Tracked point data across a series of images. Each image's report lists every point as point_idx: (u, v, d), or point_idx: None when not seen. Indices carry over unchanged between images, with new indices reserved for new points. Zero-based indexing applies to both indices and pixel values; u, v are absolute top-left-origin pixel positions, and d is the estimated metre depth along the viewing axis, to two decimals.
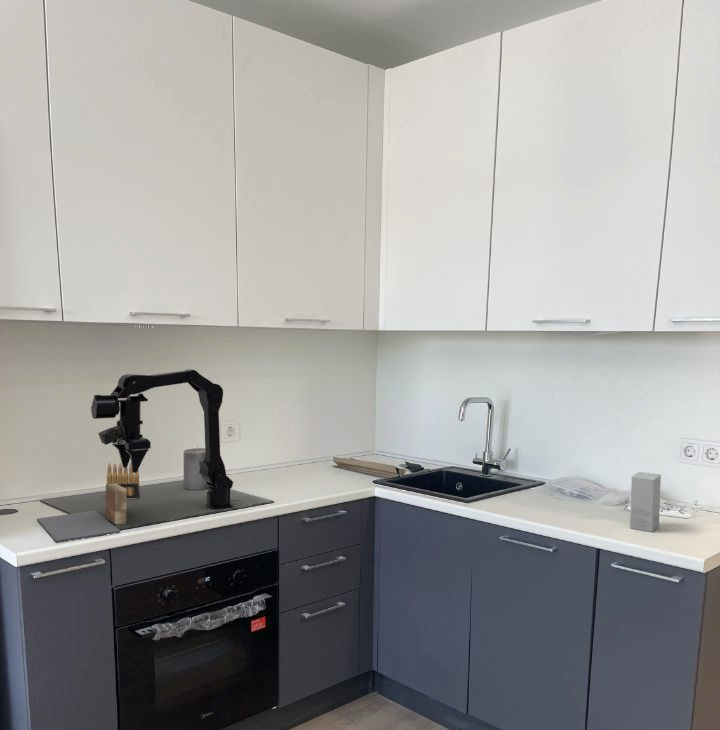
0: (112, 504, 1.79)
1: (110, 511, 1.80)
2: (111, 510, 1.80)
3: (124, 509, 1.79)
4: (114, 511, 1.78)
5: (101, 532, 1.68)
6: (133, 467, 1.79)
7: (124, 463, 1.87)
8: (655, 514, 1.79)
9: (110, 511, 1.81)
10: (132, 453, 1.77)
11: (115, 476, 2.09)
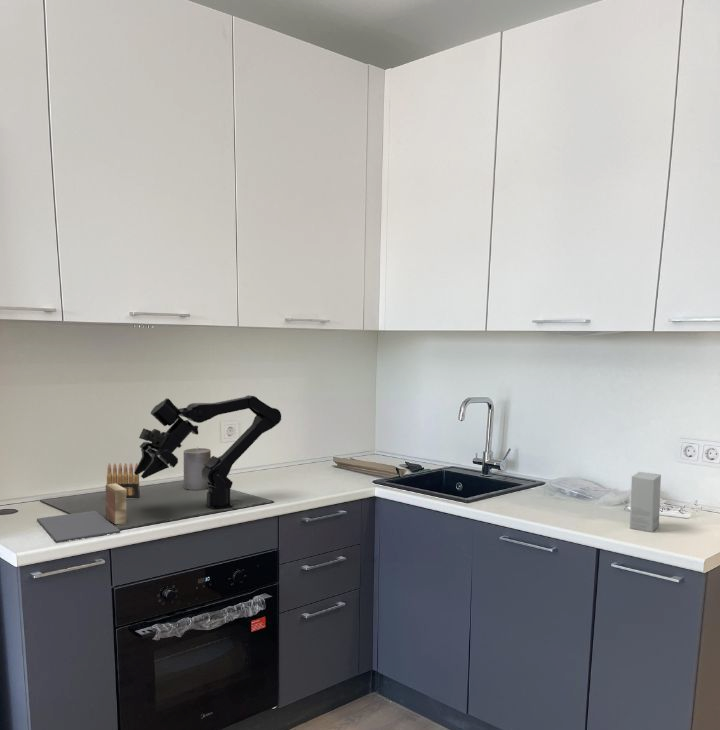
0: (112, 504, 1.79)
1: (110, 511, 1.80)
2: (111, 510, 1.80)
3: (124, 509, 1.79)
4: (114, 511, 1.78)
5: (101, 532, 1.68)
6: (145, 472, 1.83)
7: (138, 470, 1.89)
8: (655, 514, 1.79)
9: (110, 511, 1.81)
10: (155, 460, 1.84)
11: (115, 476, 2.09)
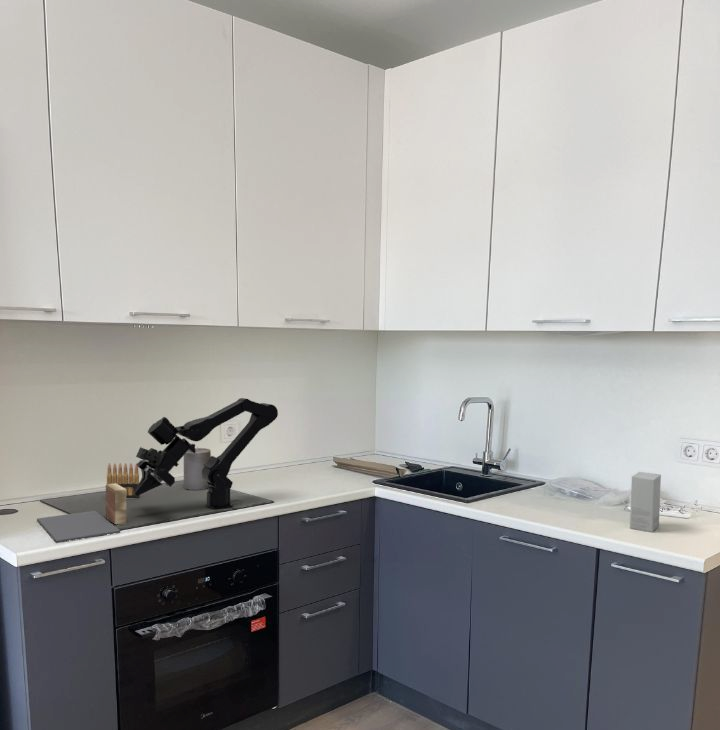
0: (112, 504, 1.79)
1: (110, 511, 1.80)
2: (111, 510, 1.80)
3: (124, 509, 1.79)
4: (114, 511, 1.78)
5: (101, 532, 1.68)
6: (138, 490, 1.85)
7: None
8: (655, 514, 1.79)
9: (110, 511, 1.81)
10: (148, 477, 1.86)
11: (115, 476, 2.09)
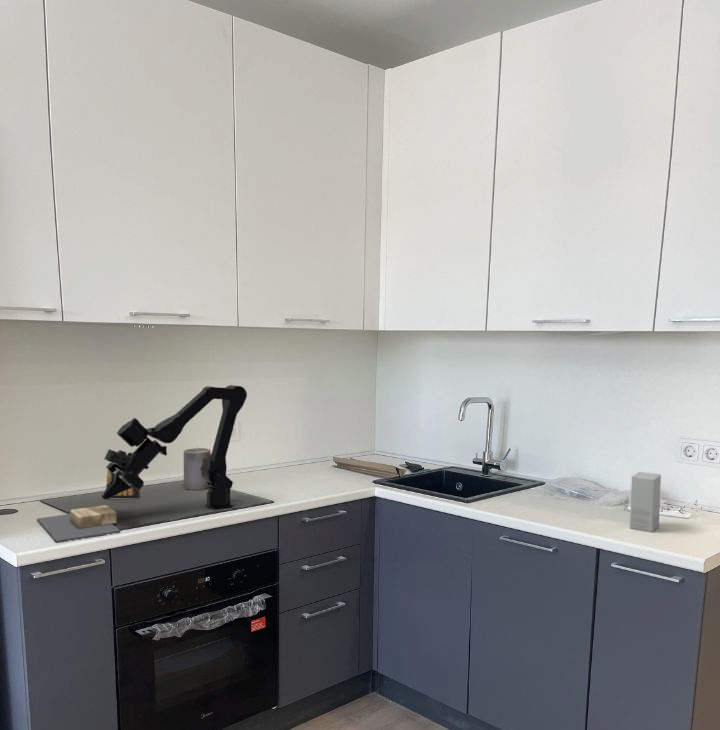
0: None
1: None
2: None
3: (100, 516, 1.75)
4: (101, 524, 1.76)
5: (101, 532, 1.68)
6: (106, 493, 1.80)
7: None
8: (655, 514, 1.79)
9: None
10: (117, 480, 1.80)
11: None
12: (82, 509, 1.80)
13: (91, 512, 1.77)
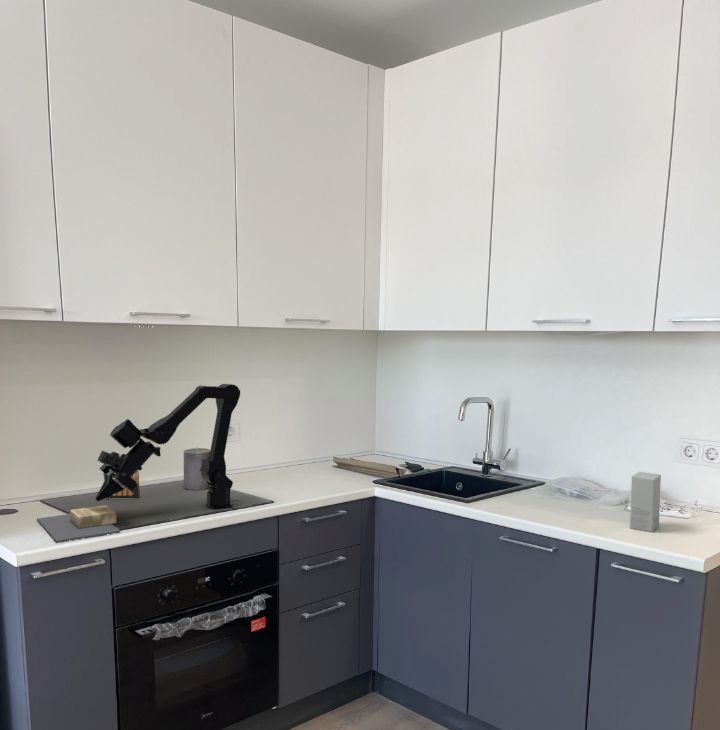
0: None
1: None
2: None
3: (100, 516, 1.75)
4: (101, 524, 1.76)
5: (101, 532, 1.68)
6: (100, 495, 1.78)
7: None
8: (655, 514, 1.79)
9: None
10: (110, 482, 1.79)
11: None
12: (82, 509, 1.80)
13: (91, 512, 1.77)
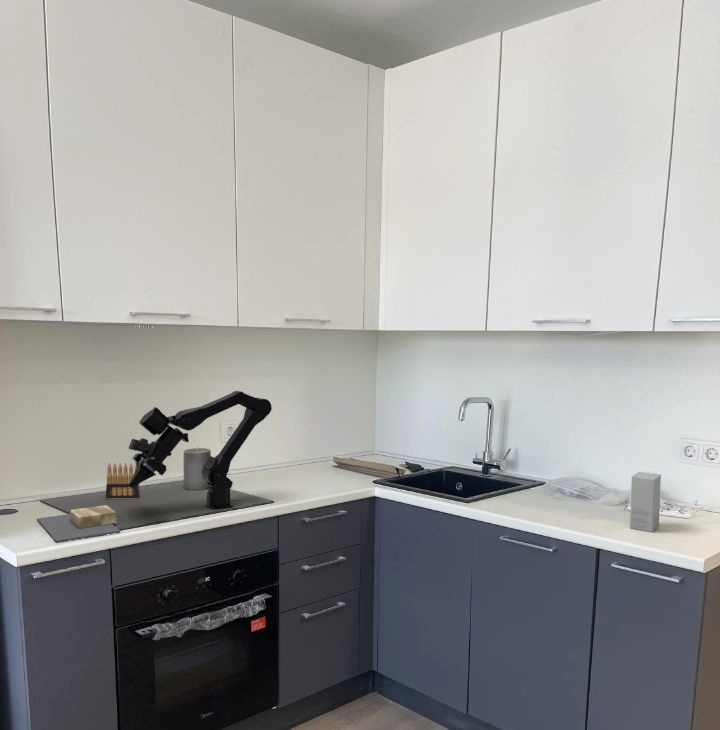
0: None
1: None
2: None
3: (100, 516, 1.75)
4: (101, 524, 1.76)
5: (101, 532, 1.68)
6: (132, 481, 1.84)
7: None
8: (655, 514, 1.79)
9: None
10: (141, 468, 1.84)
11: (115, 476, 2.09)
12: (82, 509, 1.80)
13: (91, 512, 1.77)
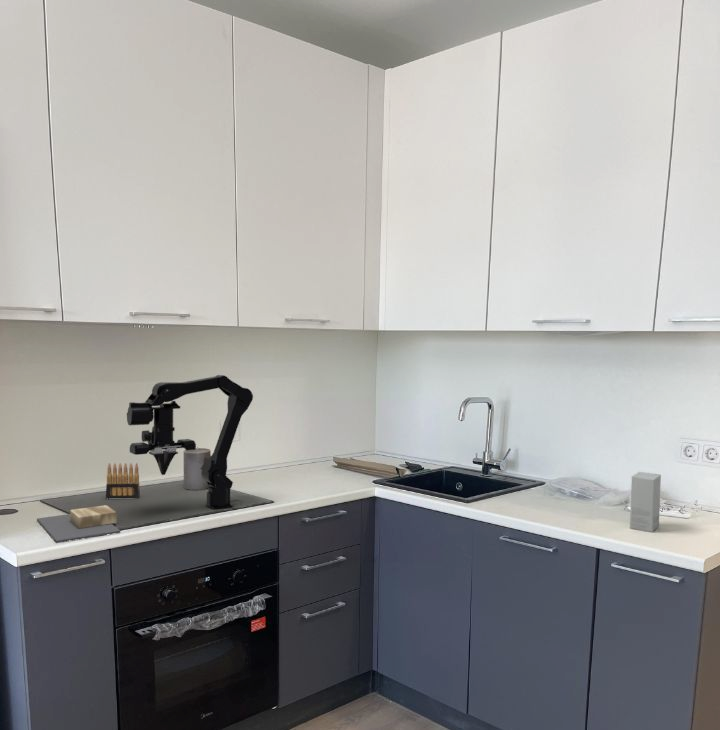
0: None
1: None
2: None
3: (100, 516, 1.75)
4: (101, 524, 1.76)
5: (101, 532, 1.68)
6: None
7: None
8: (655, 514, 1.79)
9: None
10: (154, 455, 1.90)
11: (115, 476, 2.09)
12: (82, 509, 1.80)
13: (91, 512, 1.77)
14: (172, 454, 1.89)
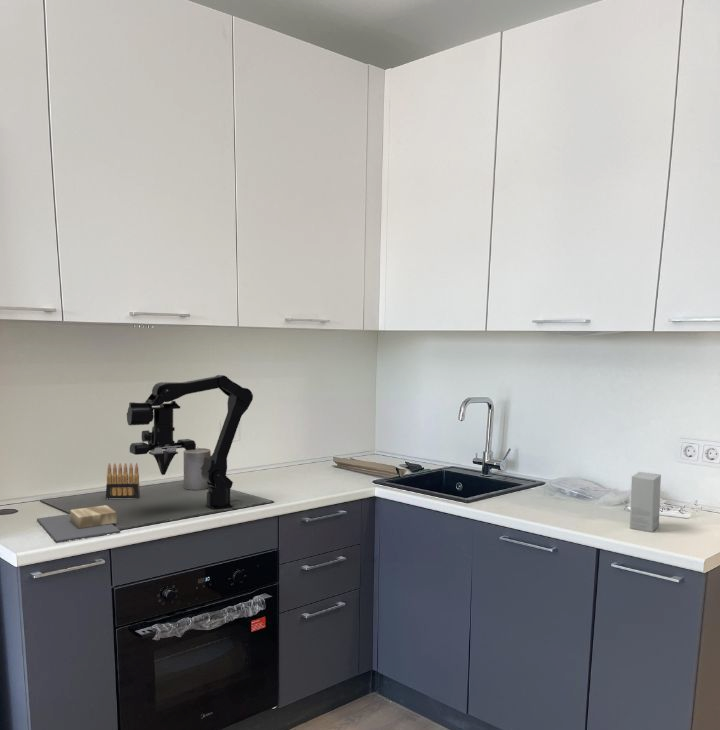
0: None
1: None
2: None
3: (100, 516, 1.75)
4: (101, 524, 1.76)
5: (101, 532, 1.68)
6: None
7: None
8: (655, 514, 1.79)
9: None
10: (154, 455, 1.90)
11: (115, 476, 2.09)
12: (82, 509, 1.80)
13: (91, 512, 1.77)
14: (172, 454, 1.89)
